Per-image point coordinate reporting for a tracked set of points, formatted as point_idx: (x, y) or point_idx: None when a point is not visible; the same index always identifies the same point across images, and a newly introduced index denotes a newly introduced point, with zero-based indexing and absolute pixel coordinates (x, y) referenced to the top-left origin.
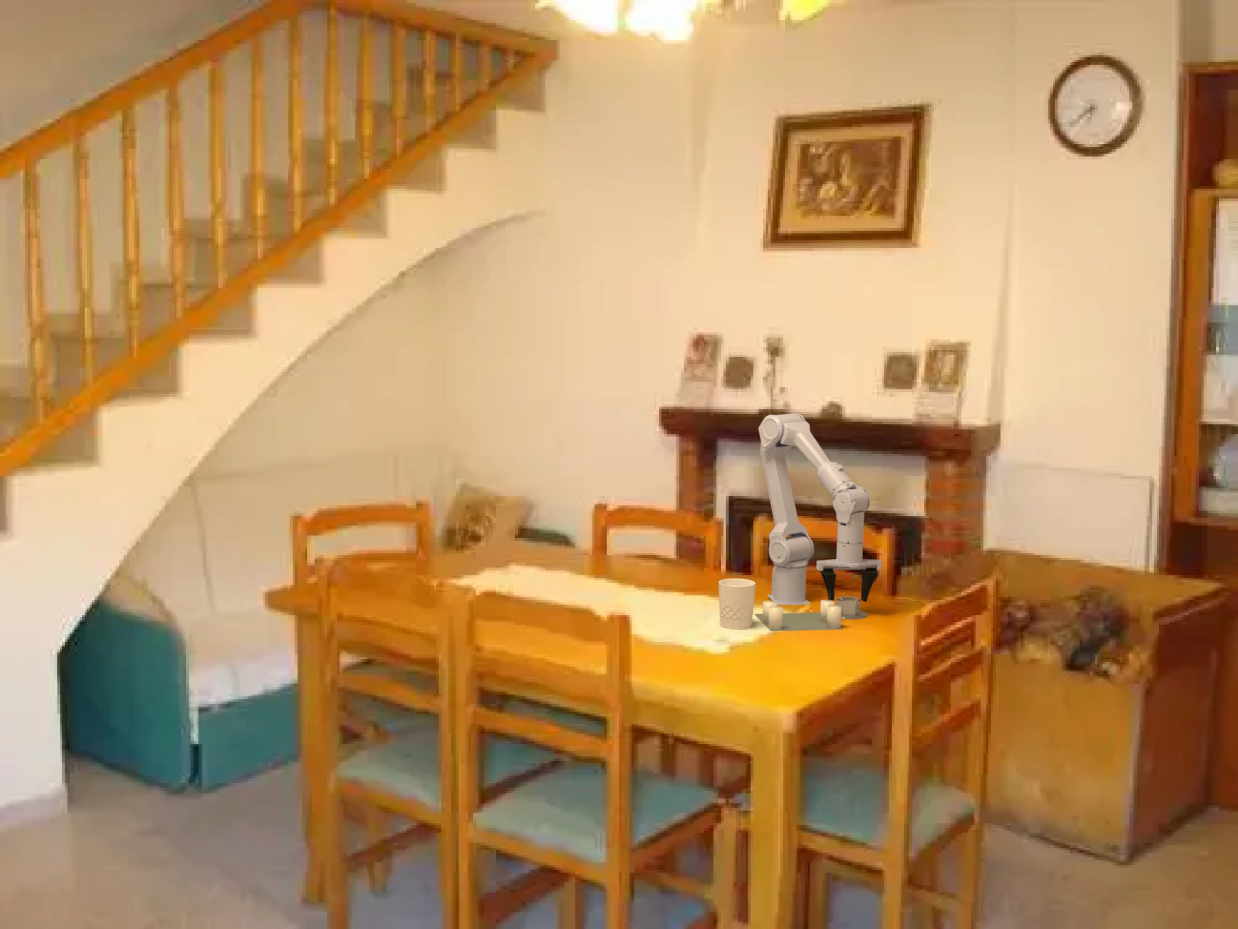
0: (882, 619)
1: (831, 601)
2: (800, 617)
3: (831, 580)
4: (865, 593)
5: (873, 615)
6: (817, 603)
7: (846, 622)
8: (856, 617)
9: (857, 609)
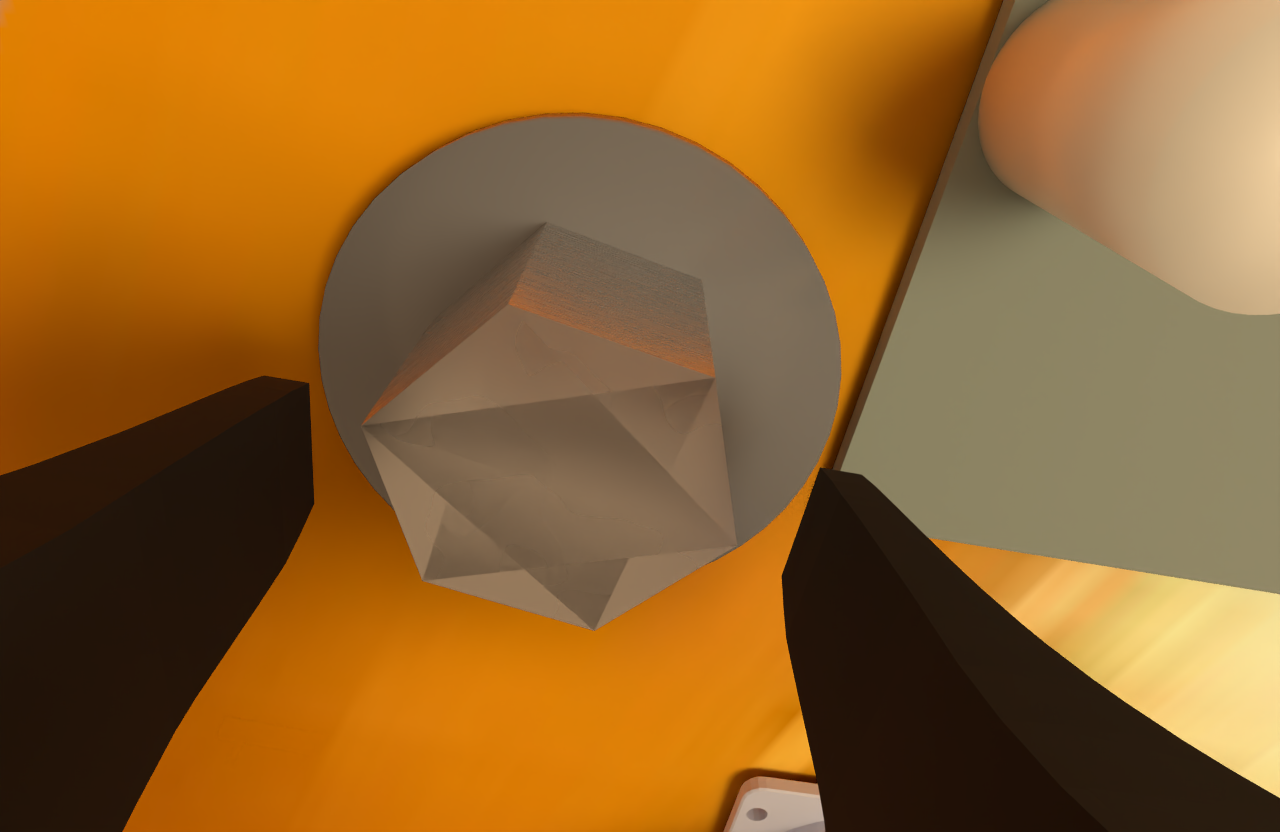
0: (156, 95)
1: (1241, 137)
2: (1248, 393)
3: (1147, 769)
4: (220, 430)
5: (232, 327)
6: (636, 811)
7: (759, 70)
8: (553, 154)
9: (469, 302)
